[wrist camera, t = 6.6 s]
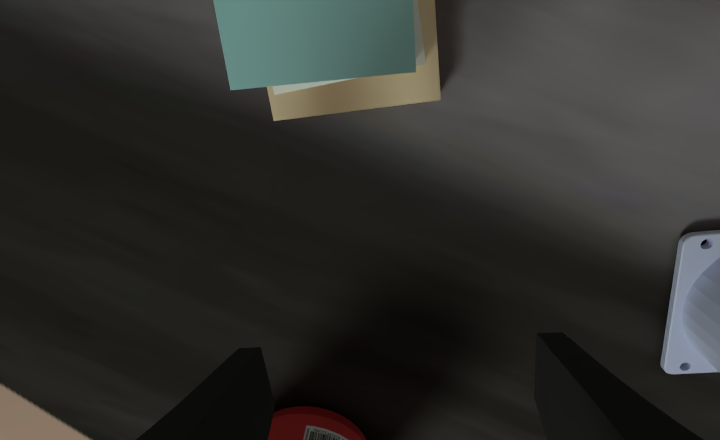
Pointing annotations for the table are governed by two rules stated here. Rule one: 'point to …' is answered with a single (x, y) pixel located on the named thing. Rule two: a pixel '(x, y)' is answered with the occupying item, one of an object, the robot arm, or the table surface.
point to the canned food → (312, 425)
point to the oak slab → (369, 84)
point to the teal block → (314, 40)
